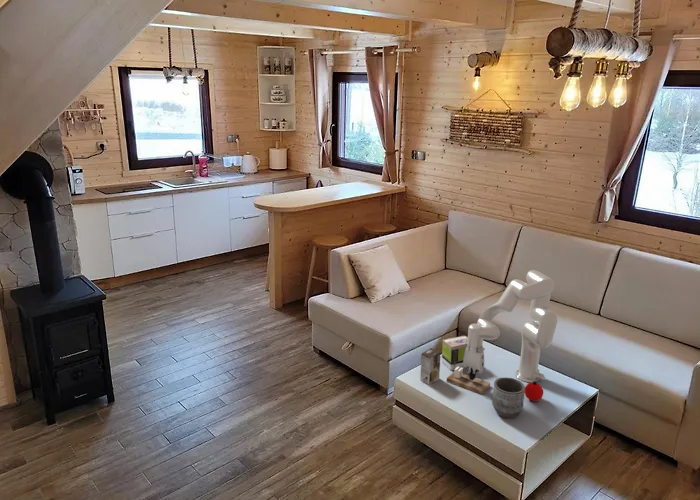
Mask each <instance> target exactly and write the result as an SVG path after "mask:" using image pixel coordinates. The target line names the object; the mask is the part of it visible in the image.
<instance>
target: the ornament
mask: <svg viewBox="0 0 700 500" xmlns="http://www.w3.org/2000/svg"><path fill="white" fill-rule="evenodd" d="M524 396H525V397H526V398H527V399H528V400H530V401H532V402H537V401H538V402H539V401H540V400H541V399H542V398H543V396H544V389H543V387H542V385H541V384H539V383H538V381H537V382H536V381H534V382H528V383H527V384H526V385H525V394H524Z"/></svg>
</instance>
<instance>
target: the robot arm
mask: <svg viewBox="0 0 700 500" xmlns="http://www.w3.org/2000/svg"><path fill="white" fill-rule="evenodd" d="M525 279H526V282H527V283H526V282H525V281H523V280H521V279H518V278H517V279H516V278H515V279H512V280H511V281H510V283H508V285H507V286H506V288H505V290H504V291H503V292H502V294H501V296H500V297H499V299H498V300H497V302H496V303H494V304H491V305H490V306H489V307H487V308H486V309H484V310H483V312H481V314H480V316H479V317H478V319H477V322H476V323H471V324H470V325H468V330H467V338H468V343H467V348H466V350H465V354H464V359H463V366H465V367H464V368H466V369H467V370H468V372H469V374H468V375H469V377H470V380H474V379H475V378H477V373H483V372H484V367H485V348H484V345H483V342H484V340H490V341H491V340H496V339H498V338H499V337H500V335H501V330H500V329H499V327H498V326H496V325H495V324H494V323H493V322H492V321H493V320H494V319H495V318H496V316H497V315H499V314H502V313H512V312H513V311H514V309H515V308H516V306H517V304H518V303H519V301H522V302H525V303H526V302H530V307H529V311H528V316H529V319H531V320H532V321H531V320H530V321H526V322H524V324H523V325H522V328H521V350H520V359H519V367H518V369H517V370H516V371H515V373H514V374H515V377H516V379H517V380H518V379H519V381H521V382H522V381H523V382H525V383H532V382H534V381H536V382H537V383H538V381H540V380H542V381H545V380H546V376H545V374H543V373H540V369H539V365H540V363H539V362H540V357H541V349H545V348H548V347H549V346H550V345H551V343H552V342H553V338H554V336H555V332H556V327H557V324H558V316H557V314H556V313H555V311H553V310H552V309H551V308H550V307H549V306H550V302H551V301H550V300H551V293H552V292H553V291H554V290H555V285H556V284H555V281H554V279H552V278H551V277H549V276H547V275H546V274H544V273H542V272H540V271H538V270H536V269H531V270H529V271H528V272H527V273H526V277H525Z"/></svg>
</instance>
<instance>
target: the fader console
mask: <svg viewBox="0 0 700 500" xmlns="http://www.w3.org/2000/svg"><path fill="white" fill-rule="evenodd" d="M446 382H447V383H450V384H451V385H456V386H458V387H460V388H463V389H466V390H468V391H471V392H473V393H474V392H475V393H476V394H479V395H483V394H484V393H485V392H486V391H487V390H488V389H489V388H490V386H491V383H490V382H489V381H486V380H483V379H481V378H478V377H476V378H475V379H474V380H470V377H469V374H466V373H464V372H463V376H461V377H460V378H456V377H454V371H453V372H452V373H451V374H450V375H448V376H447V377H446Z"/></svg>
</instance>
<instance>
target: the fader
mask: <svg viewBox="0 0 700 500" xmlns="http://www.w3.org/2000/svg"><path fill="white" fill-rule="evenodd" d="M453 372H454V377H456V378H460V377H461V376H463V373H464V368H461V367H459V366H458V367H457V368H455V369H454V371H453Z"/></svg>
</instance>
